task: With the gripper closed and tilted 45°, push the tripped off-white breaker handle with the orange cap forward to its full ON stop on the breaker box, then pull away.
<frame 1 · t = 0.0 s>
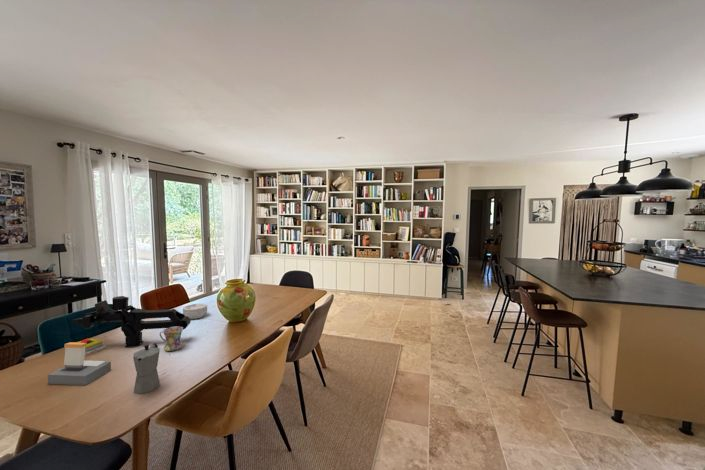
hand: (78, 317, 148), 17 cm above the table, tool horizontal, fingers open, 9 cm apart
paper bowls: (195, 317, 200), on the table
mug: (170, 348, 151), on the table
breaker box: (74, 377, 122), on the table
coffeepot: (148, 386, 117), on the table
emergency button: (87, 349, 150), on the table
breaker handle: (74, 355, 122), point 10 cm above the table, hinge at -6.0°
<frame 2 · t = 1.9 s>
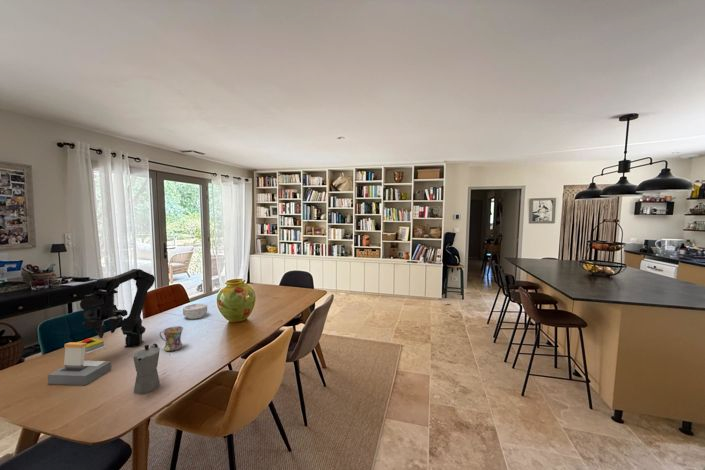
hand: (106, 335, 138), 12 cm above the table, tool pointing down, fingers open, 6 cm apart
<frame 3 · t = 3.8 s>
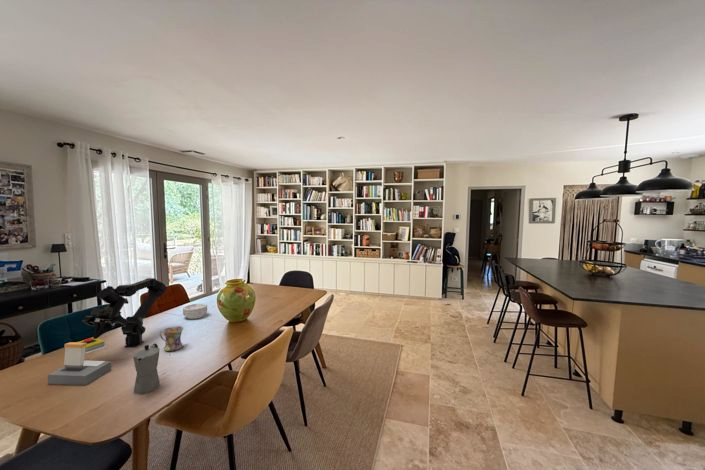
hand: (94, 338, 131), 13 cm above the table, tool tilted 45°, fingers closed
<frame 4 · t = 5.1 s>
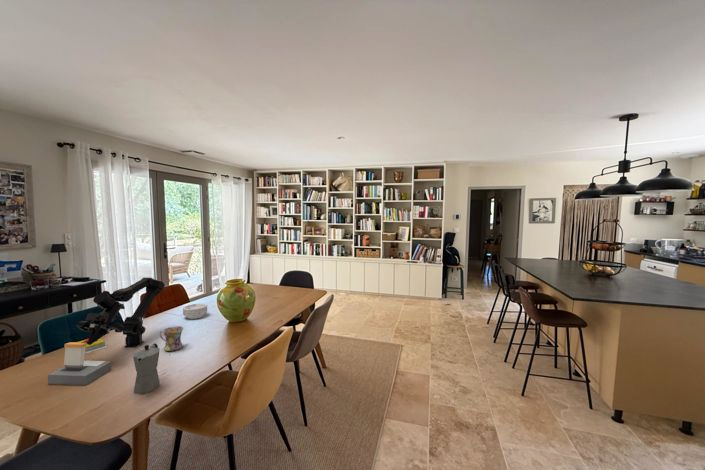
hand: (88, 344, 128), 12 cm above the table, tool tilted 45°, fingers closed
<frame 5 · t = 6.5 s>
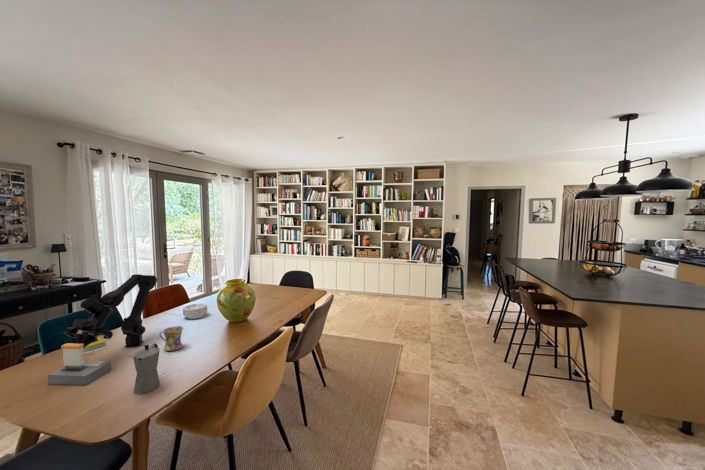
hand: (75, 352, 122), 11 cm above the table, tool tilted 45°, fingers closed, pressing on breaker handle
breaker handle: (73, 356, 121), point 10 cm above the table, hinge at 2.1°, touching gripper
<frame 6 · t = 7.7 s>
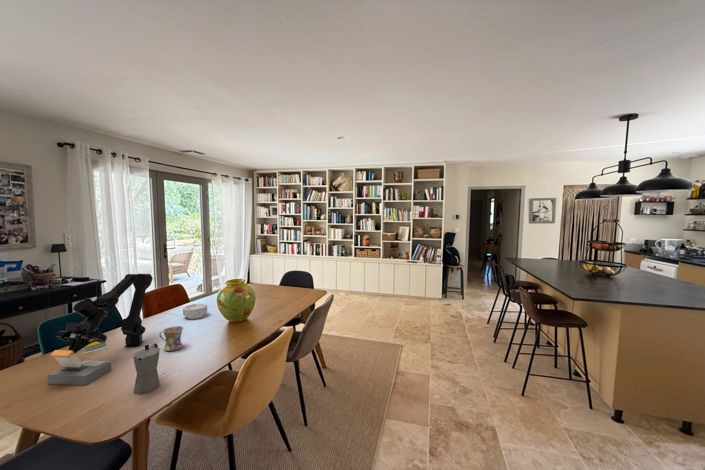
hand: (68, 356, 119), 11 cm above the table, tool tilted 45°, fingers closed, pressing on breaker handle
breaker handle: (68, 360, 119), point 9 cm above the table, hinge at 31.3°, touching gripper
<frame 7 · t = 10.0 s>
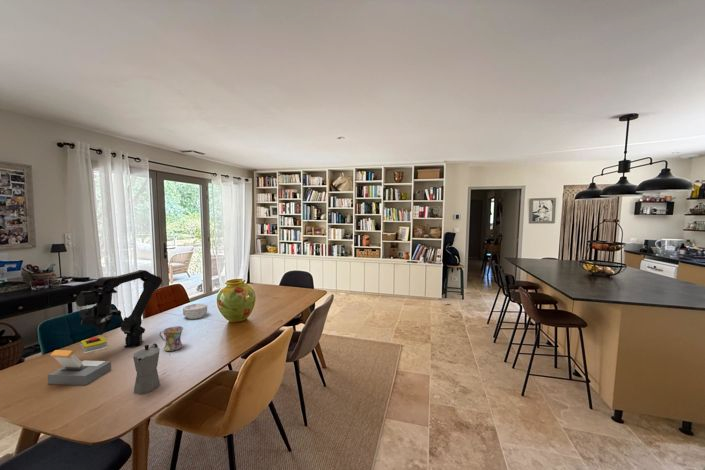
hand: (100, 334, 139), 12 cm above the table, tool pointing down, fingers closed
breaker handle: (68, 360, 119), point 9 cm above the table, hinge at 31.3°
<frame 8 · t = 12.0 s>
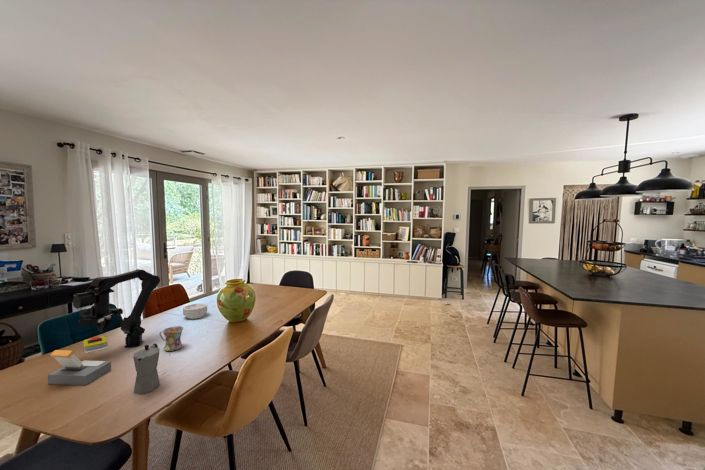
hand: (102, 333, 140), 12 cm above the table, tool pointing down, fingers closed
at the end: breaker handle at +31° (first picture: -6°) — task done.
